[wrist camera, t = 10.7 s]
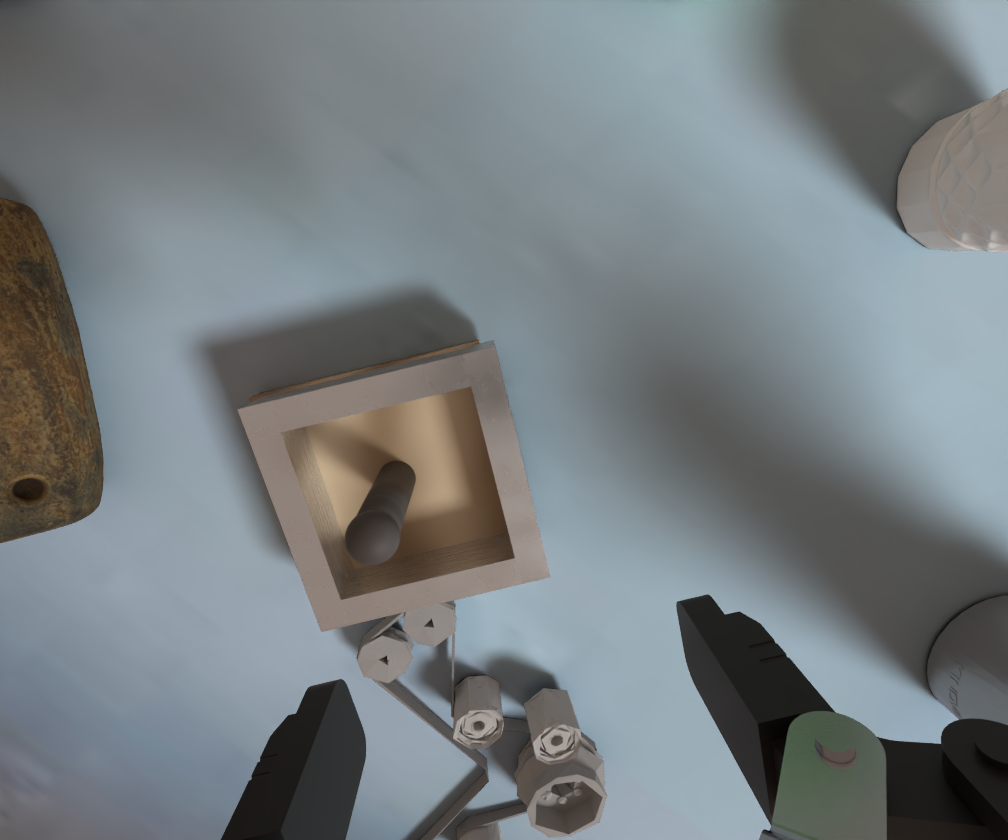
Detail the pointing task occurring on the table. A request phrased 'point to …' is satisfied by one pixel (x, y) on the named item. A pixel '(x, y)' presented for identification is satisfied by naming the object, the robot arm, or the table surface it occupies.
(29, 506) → the brown cylinder
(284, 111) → the table surface
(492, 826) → the pulley system
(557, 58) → the table surface
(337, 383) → the link
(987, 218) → the white cup
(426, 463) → the wooden board with peg
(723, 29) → the table surface
